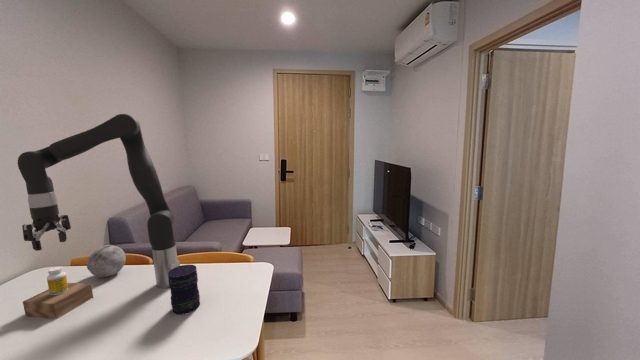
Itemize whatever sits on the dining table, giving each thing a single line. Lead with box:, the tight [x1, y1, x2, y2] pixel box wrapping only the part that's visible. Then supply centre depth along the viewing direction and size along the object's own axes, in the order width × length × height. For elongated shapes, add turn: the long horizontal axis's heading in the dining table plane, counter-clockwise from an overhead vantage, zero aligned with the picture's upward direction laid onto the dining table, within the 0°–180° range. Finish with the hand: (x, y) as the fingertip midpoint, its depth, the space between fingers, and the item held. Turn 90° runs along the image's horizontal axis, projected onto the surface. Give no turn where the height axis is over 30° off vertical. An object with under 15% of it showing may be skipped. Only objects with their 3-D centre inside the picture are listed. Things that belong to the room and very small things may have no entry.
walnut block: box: [22, 282, 94, 320], centre depth 109 cm, size 14×14×6 cm
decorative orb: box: [86, 244, 127, 278], centre depth 134 cm, size 15×14×15 cm
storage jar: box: [168, 264, 201, 316], centre depth 105 cm, size 10×10×15 cm
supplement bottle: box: [46, 266, 68, 295], centre depth 108 cm, size 5×5×10 cm
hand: (51, 245), depth 106 cm, fingers open, 8 cm apart
